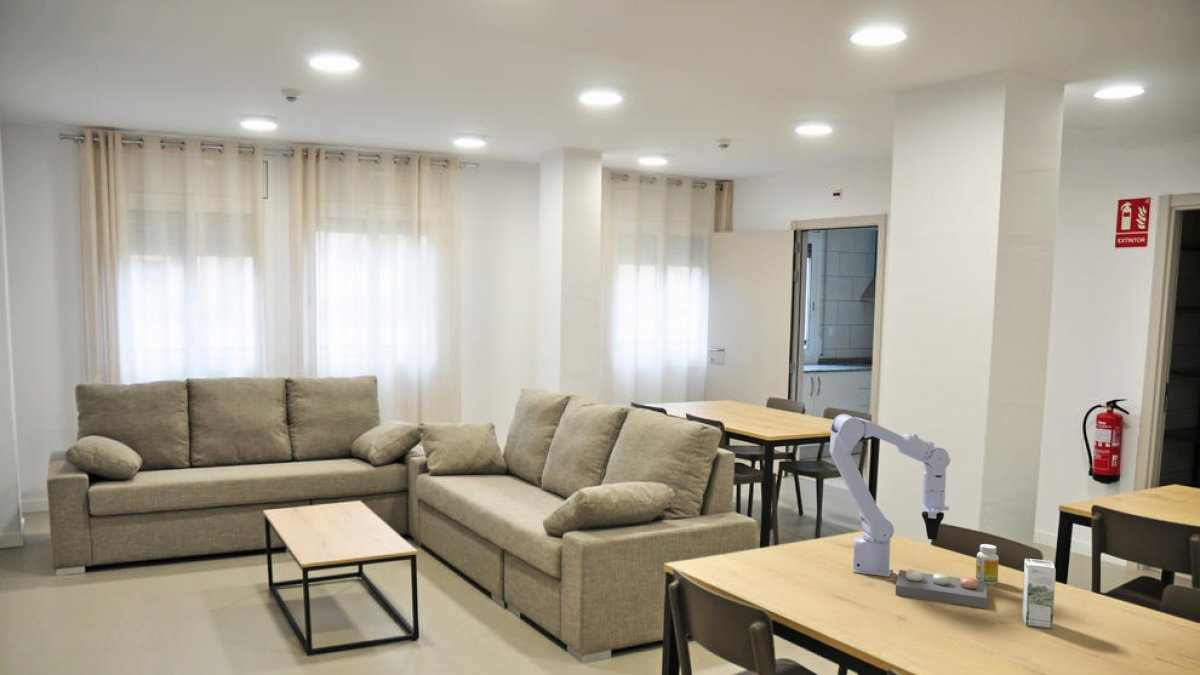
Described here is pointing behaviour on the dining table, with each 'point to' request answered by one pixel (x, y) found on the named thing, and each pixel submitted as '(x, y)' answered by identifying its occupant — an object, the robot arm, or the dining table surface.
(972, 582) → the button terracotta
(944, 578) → the button sage
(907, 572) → the button cream
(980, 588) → the panel
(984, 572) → the supplement bottle
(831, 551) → the dining table surface
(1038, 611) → the syrup box
